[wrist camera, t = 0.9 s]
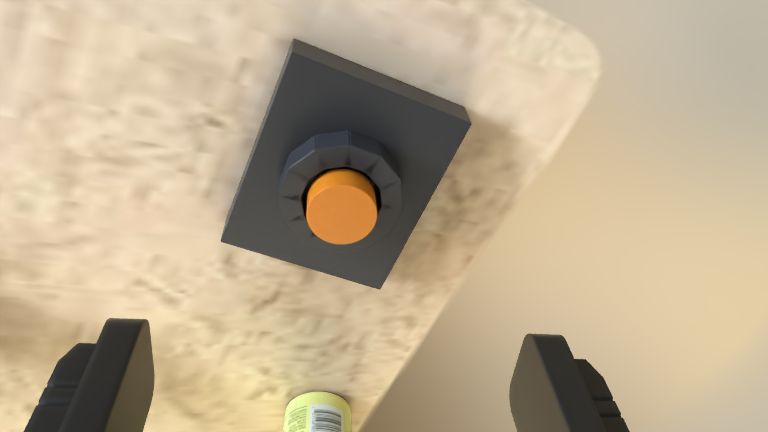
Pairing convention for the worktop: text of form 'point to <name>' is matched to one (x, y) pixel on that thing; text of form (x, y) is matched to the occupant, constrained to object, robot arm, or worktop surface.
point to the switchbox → (342, 162)
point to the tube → (317, 414)
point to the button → (341, 206)
